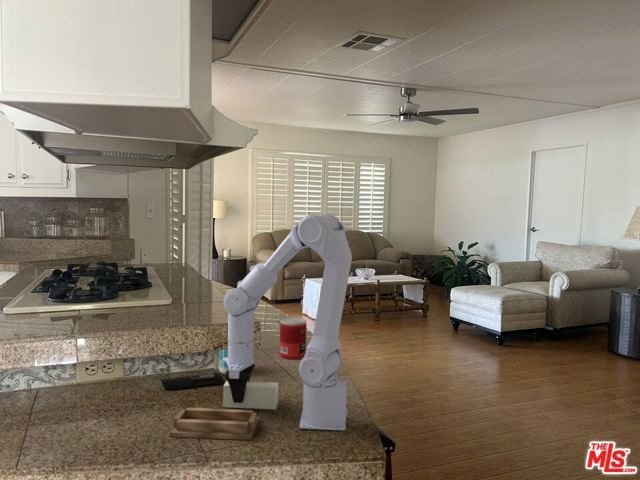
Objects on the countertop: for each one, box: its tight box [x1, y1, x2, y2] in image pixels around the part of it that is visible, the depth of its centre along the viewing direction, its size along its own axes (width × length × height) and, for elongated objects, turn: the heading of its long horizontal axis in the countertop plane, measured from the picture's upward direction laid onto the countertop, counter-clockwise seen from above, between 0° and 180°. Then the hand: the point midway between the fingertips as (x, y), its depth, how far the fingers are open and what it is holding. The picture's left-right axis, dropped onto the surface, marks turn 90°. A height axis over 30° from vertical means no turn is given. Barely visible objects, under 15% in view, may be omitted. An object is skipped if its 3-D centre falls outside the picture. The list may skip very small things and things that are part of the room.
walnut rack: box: [169, 407, 259, 441], centre depth 103 cm, size 16×9×3 cm, turn 88°
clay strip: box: [222, 380, 279, 410], centre depth 115 cm, size 12×3×5 cm, turn 89°
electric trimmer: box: [160, 371, 225, 390], centre depth 126 cm, size 4×16×3 cm, turn 114°
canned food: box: [279, 317, 307, 360], centre depth 153 cm, size 8×8×11 cm
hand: (239, 399), depth 115 cm, fingers closed on clay strip, 3 cm apart
